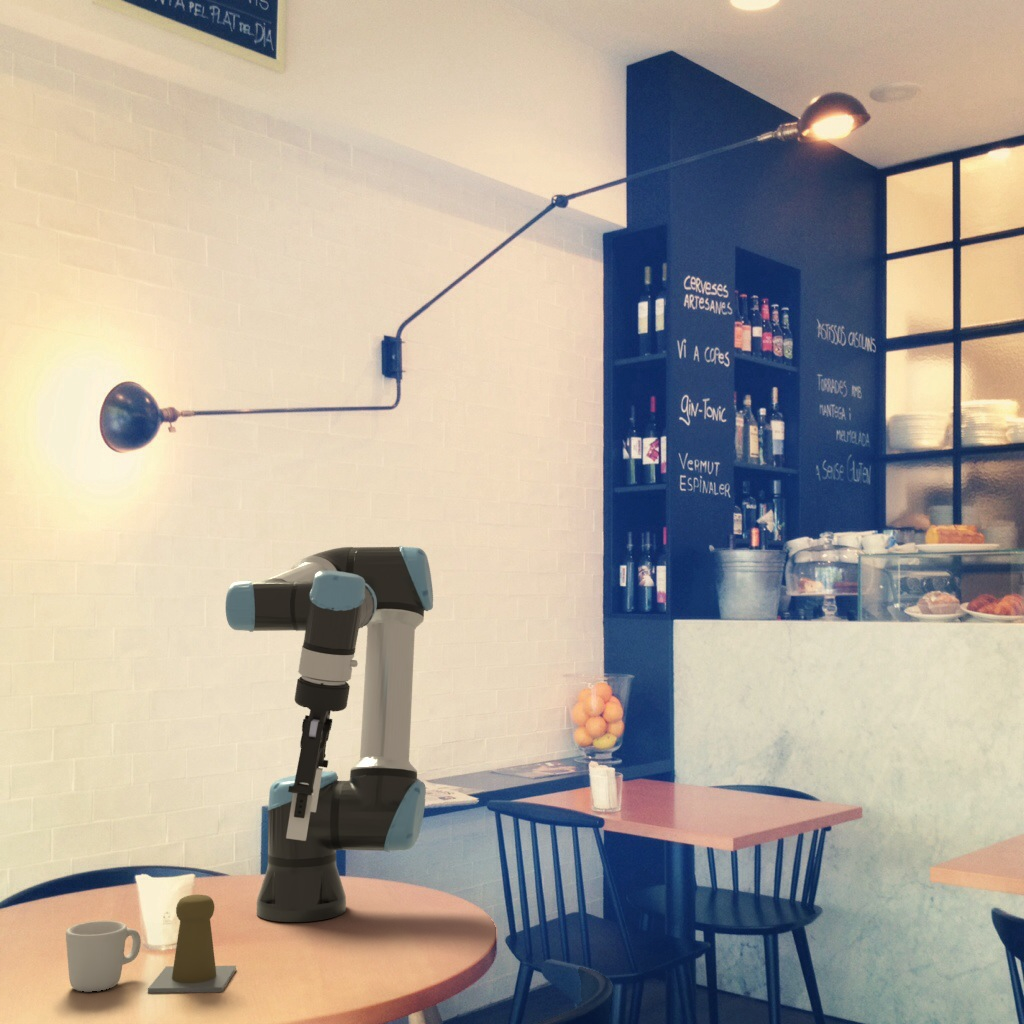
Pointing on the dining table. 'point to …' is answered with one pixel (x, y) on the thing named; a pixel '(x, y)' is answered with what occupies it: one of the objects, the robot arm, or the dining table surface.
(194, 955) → the pepper mill
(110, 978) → the cup
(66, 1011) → the dining table surface
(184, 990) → the coaster
